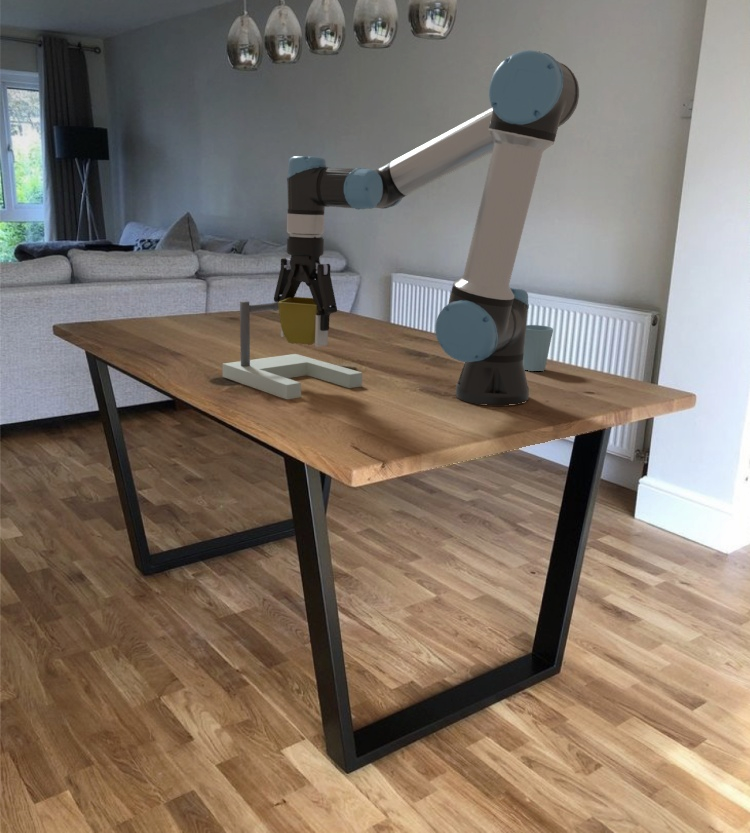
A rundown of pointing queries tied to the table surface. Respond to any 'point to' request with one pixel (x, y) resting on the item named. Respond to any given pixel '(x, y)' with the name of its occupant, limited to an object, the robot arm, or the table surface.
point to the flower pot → (298, 319)
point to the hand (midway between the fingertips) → (303, 341)
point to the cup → (536, 347)
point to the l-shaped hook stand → (281, 365)
